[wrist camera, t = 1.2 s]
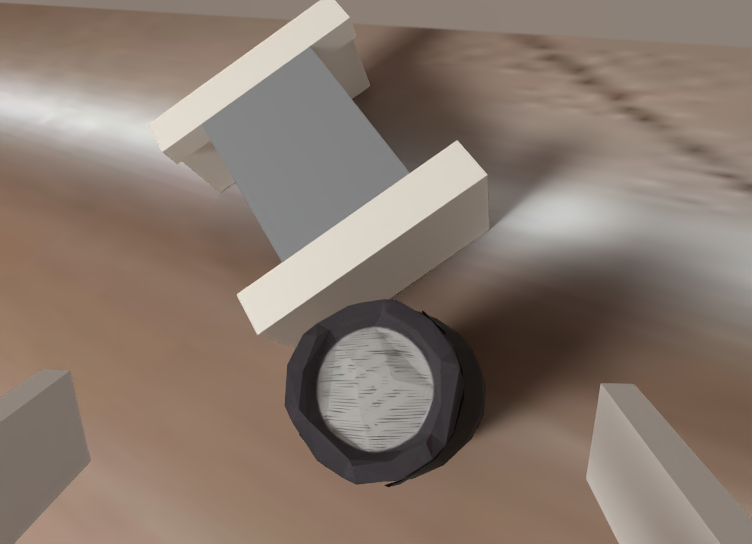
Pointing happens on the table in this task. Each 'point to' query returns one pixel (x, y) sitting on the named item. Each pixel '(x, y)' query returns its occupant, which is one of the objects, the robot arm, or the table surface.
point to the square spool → (321, 176)
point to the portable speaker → (383, 392)
